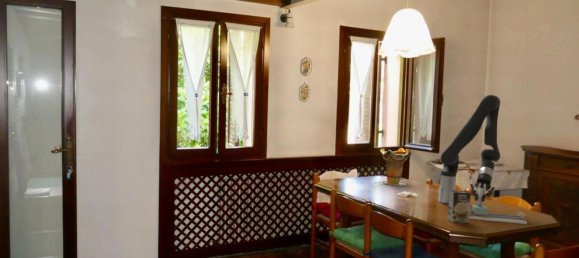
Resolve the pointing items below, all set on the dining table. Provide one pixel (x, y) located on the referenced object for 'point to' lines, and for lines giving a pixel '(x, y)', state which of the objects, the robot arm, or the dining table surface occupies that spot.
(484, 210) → the carriage
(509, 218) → the rail track
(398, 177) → the decorative vase
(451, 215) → the coffee box
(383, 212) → the dining table surface
